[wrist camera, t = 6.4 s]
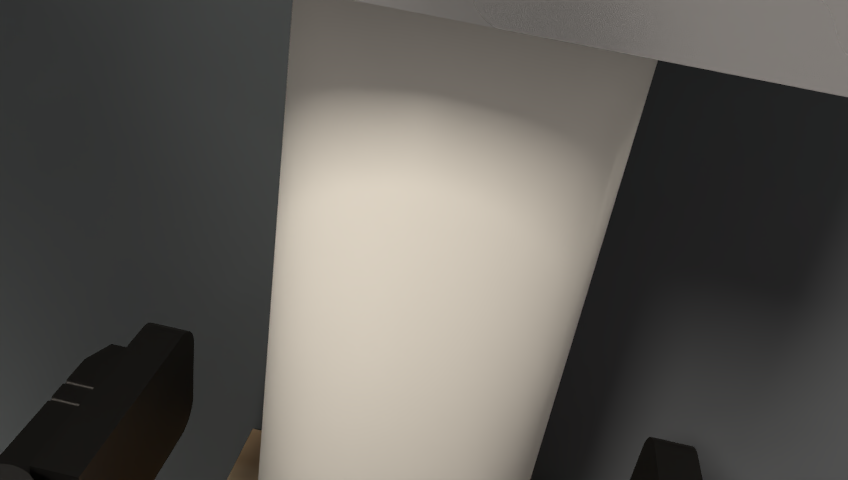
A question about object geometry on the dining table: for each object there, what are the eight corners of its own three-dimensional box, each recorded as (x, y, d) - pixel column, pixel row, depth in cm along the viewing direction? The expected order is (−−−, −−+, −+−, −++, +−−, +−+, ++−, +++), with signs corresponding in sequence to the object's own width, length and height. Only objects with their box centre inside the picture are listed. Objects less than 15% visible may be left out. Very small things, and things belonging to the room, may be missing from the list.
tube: (300, -493, 10) (-122, -971, 4) (871, -404, 9) (1408, -781, 3) (239, 542, 19) (87, 881, 13) (526, 612, 18) (507, 996, 12)
